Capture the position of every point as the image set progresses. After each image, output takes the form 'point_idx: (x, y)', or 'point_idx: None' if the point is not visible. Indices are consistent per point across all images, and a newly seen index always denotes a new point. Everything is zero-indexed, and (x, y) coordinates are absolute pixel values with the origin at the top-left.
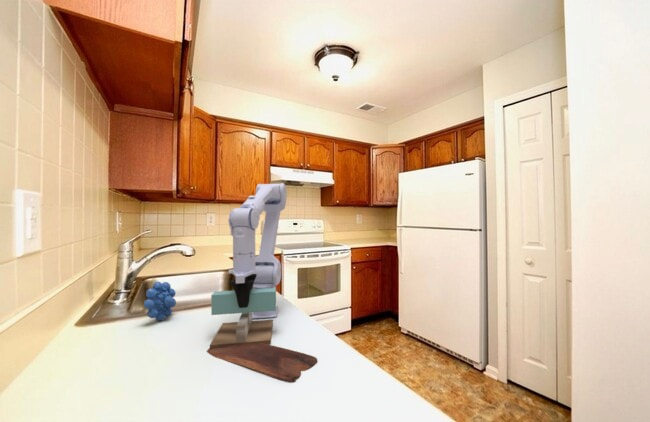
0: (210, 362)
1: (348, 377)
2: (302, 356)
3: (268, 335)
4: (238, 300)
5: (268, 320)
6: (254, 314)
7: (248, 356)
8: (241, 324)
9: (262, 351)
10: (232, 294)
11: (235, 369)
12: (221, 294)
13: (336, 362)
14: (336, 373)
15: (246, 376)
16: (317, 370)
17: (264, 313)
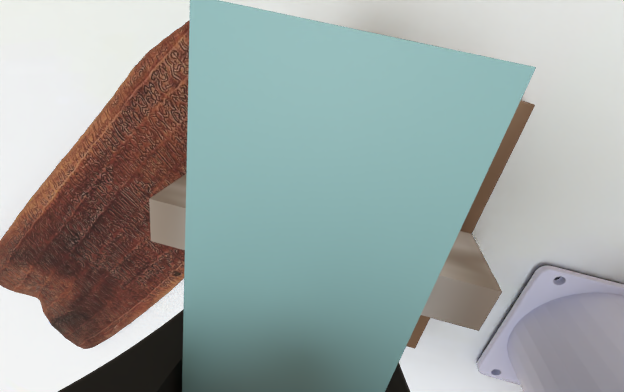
0: (94, 46)
1: (21, 361)
2: (82, 327)
3: None
4: (180, 320)
5: (414, 331)
6: (572, 298)
7: (87, 195)
8: (165, 227)
9: (121, 243)
10: (189, 326)
11: (45, 142)
12: (188, 198)
13: (78, 370)
14: (34, 351)
15: (10, 171)
16: (45, 328)
17: (518, 343)
